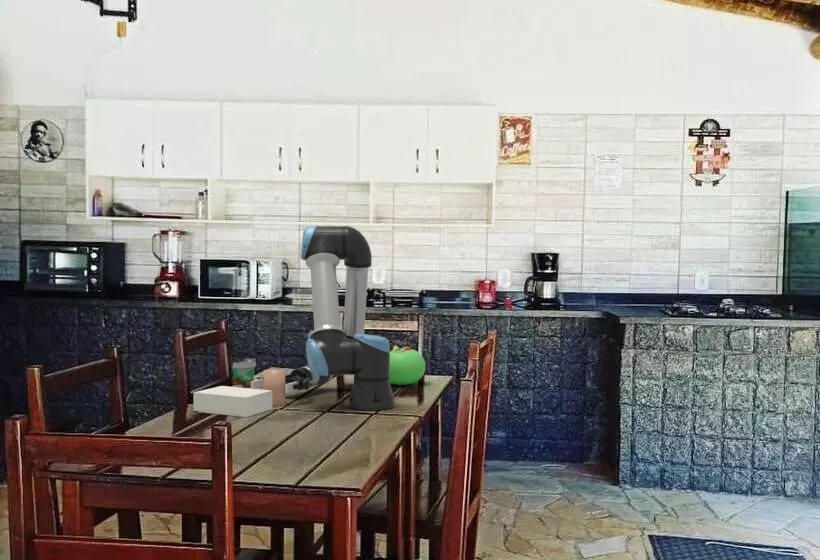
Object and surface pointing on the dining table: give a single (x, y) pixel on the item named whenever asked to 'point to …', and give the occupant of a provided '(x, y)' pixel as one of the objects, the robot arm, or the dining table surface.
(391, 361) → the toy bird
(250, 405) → the cream riser
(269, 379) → the terracotta canister
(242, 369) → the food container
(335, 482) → the dining table surface
